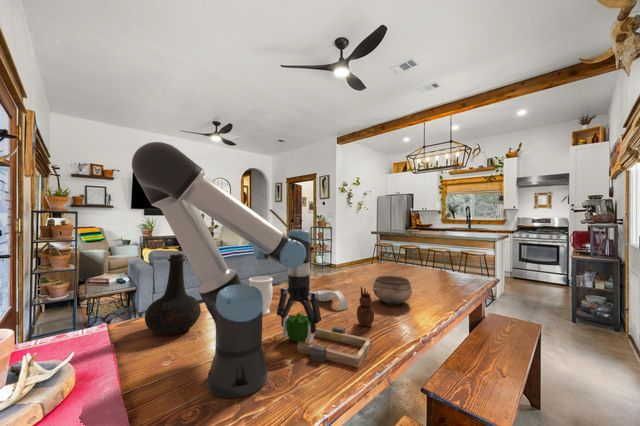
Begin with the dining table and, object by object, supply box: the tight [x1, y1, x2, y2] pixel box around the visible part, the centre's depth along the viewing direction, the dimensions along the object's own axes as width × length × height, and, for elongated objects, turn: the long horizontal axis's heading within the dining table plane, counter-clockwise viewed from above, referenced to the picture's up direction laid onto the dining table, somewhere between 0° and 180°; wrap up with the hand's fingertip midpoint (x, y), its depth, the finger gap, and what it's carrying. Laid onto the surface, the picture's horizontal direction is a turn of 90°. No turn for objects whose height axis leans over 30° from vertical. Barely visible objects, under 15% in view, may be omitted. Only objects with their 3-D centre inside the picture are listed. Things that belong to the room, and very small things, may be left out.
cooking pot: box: [372, 274, 413, 306], centre depth 137 cm, size 25×19×12 cm
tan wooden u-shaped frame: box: [296, 325, 373, 369], centre depth 89 cm, size 18×20×4 cm
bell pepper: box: [286, 311, 310, 343], centre depth 95 cm, size 8×8×10 cm
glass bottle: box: [144, 253, 202, 336], centre depth 101 cm, size 18×18×28 cm
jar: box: [248, 275, 274, 316], centre depth 121 cm, size 11×10×15 cm
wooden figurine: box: [356, 286, 375, 327], centre depth 109 cm, size 7×6×15 cm
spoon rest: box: [314, 289, 349, 311], centre depth 136 cm, size 24×12×7 cm, turn 33°
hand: (297, 338), depth 95 cm, fingers open, 9 cm apart
